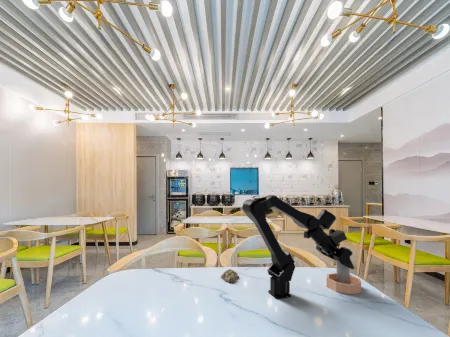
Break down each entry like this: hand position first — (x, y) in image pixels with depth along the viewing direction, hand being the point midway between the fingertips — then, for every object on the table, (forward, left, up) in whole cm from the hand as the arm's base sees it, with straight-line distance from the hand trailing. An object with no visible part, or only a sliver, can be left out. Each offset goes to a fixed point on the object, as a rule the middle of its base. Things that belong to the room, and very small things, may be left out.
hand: (346, 264), depth 104 cm
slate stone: (-1, 0, -8) cm, 8 cm away
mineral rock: (-43, +23, -10) cm, 50 cm away
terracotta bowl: (-1, 0, -9) cm, 9 cm away
